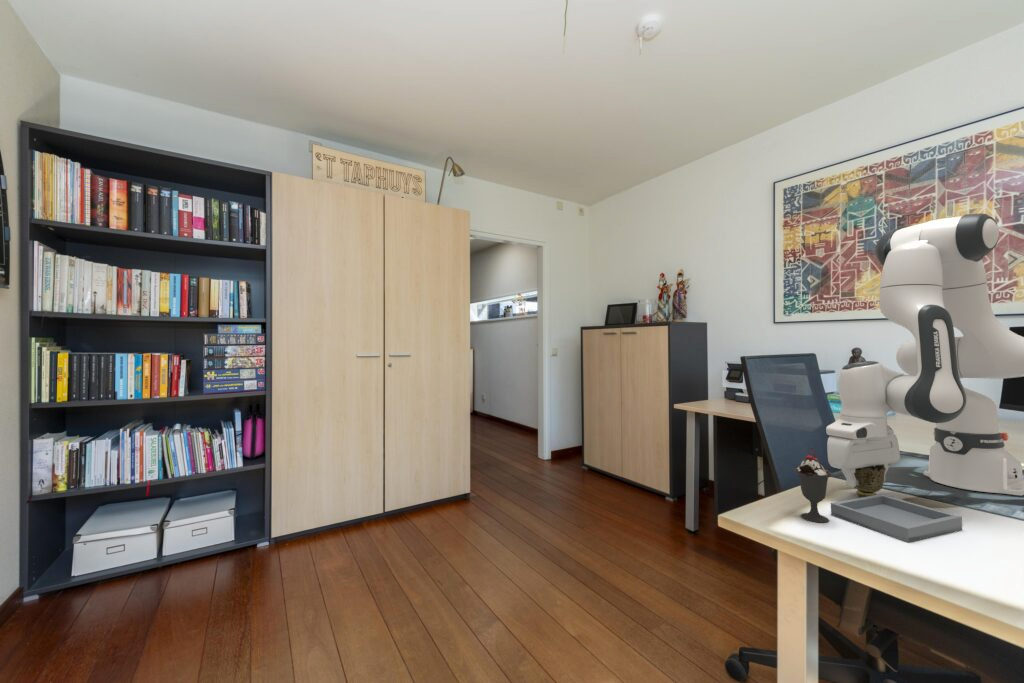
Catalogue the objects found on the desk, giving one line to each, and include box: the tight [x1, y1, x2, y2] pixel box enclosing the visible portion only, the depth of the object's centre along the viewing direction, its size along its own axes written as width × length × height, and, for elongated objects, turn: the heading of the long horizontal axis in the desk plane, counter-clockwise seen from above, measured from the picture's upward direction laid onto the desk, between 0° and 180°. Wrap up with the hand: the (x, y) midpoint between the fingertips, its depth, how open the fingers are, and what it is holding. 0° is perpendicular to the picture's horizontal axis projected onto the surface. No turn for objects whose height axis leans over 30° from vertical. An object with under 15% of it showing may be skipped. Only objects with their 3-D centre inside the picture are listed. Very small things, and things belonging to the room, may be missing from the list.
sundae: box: [793, 446, 833, 524], centre depth 89 cm, size 7×7×15 cm
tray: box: [830, 493, 963, 544], centre depth 86 cm, size 16×14×3 cm
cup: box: [853, 465, 885, 498], centre depth 100 cm, size 8×7×8 cm
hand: (866, 483), depth 100 cm, fingers open, 8 cm apart
